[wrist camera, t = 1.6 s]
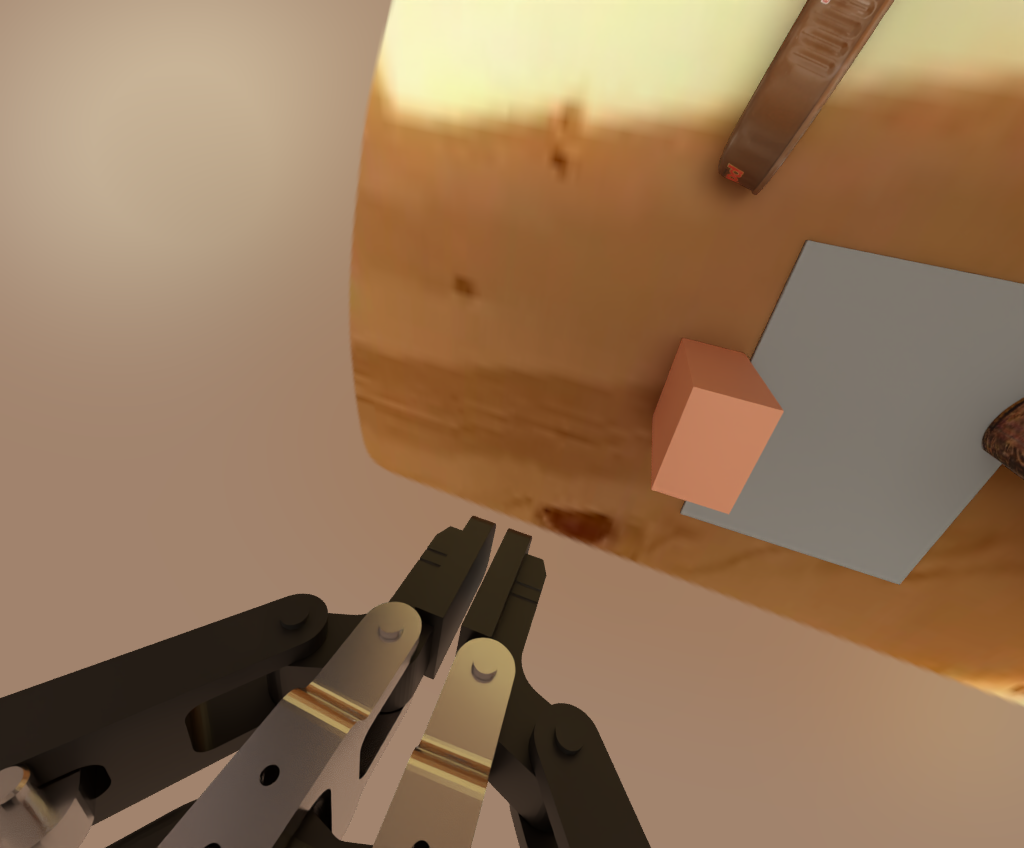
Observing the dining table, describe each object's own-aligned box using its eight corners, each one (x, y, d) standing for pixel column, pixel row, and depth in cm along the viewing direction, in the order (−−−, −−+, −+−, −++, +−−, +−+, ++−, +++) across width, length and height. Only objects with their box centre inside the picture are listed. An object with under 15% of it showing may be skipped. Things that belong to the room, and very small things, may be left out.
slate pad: (1129, 305, 22) (1135, 306, 22) (897, 581, 31) (899, 584, 31) (806, 240, 25) (807, 240, 25) (680, 511, 34) (680, 513, 34)
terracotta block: (744, 353, 28) (783, 411, 19) (708, 432, 31) (729, 514, 22) (682, 337, 29) (693, 386, 20) (652, 416, 32) (651, 489, 23)
